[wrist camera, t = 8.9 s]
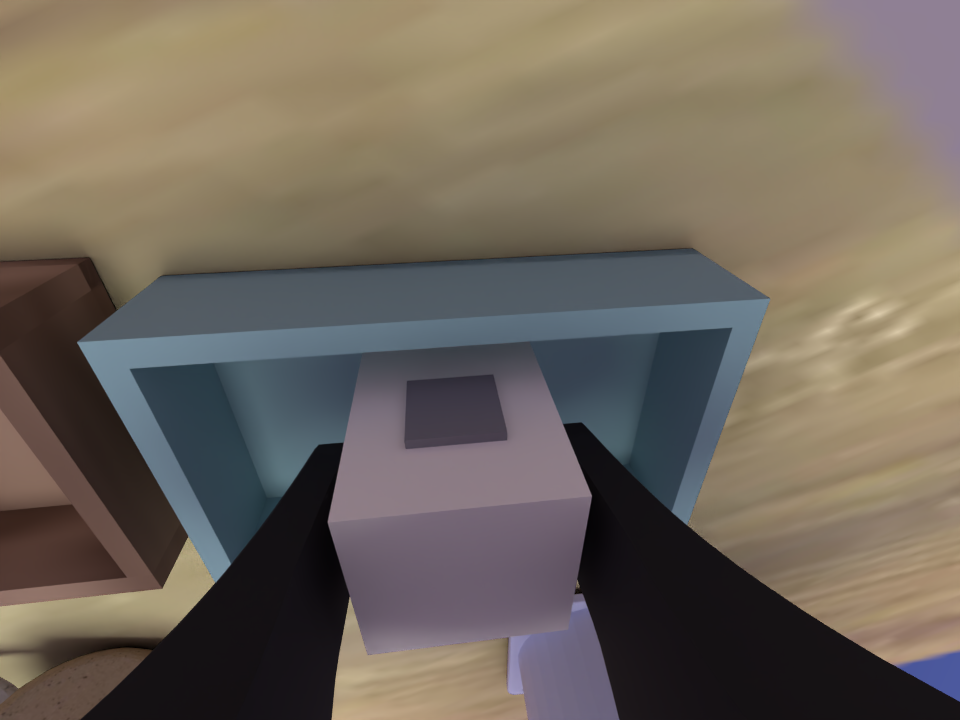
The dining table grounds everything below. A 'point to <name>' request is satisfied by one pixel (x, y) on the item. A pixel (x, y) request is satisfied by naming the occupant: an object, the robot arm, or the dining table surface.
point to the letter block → (457, 499)
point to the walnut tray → (69, 451)
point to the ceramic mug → (69, 686)
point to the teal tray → (416, 325)
